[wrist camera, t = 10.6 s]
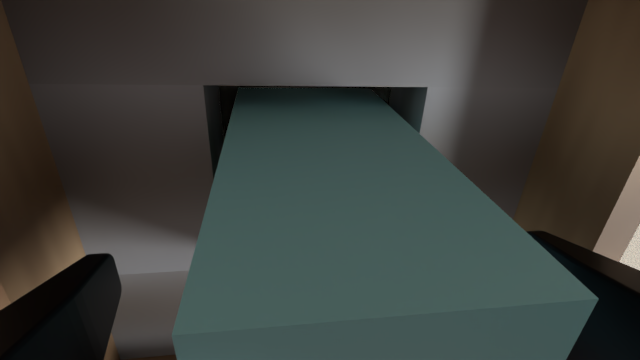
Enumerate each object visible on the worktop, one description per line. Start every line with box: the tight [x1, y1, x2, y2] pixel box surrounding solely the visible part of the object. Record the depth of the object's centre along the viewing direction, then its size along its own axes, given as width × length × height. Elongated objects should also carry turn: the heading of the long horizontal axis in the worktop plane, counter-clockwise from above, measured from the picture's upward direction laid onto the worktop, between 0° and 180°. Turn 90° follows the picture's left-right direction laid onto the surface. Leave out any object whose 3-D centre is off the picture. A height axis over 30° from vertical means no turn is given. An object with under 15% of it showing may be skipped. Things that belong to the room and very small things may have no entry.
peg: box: [172, 88, 599, 360], centre depth 9 cm, size 5×5×10 cm
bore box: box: [0, 0, 640, 360], centre depth 11 cm, size 16×16×6 cm
